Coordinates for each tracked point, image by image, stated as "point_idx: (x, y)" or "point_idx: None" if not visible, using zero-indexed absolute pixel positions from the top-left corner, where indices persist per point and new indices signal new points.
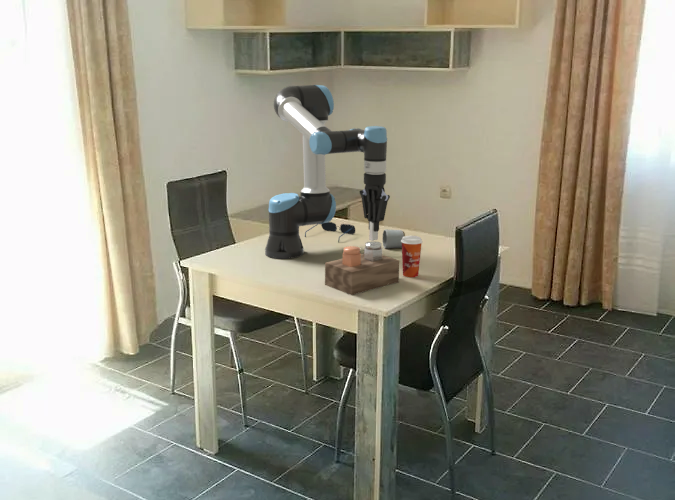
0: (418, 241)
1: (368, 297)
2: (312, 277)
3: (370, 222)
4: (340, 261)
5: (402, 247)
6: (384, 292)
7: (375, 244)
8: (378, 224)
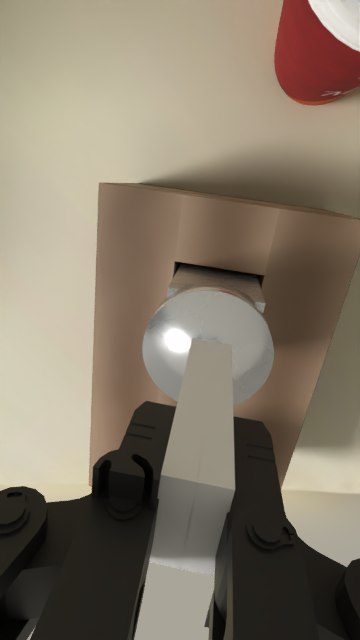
0: None
1: (322, 433)
2: (29, 387)
3: (167, 557)
4: (120, 440)
5: (330, 49)
6: (344, 360)
7: (236, 365)
8: (277, 503)
